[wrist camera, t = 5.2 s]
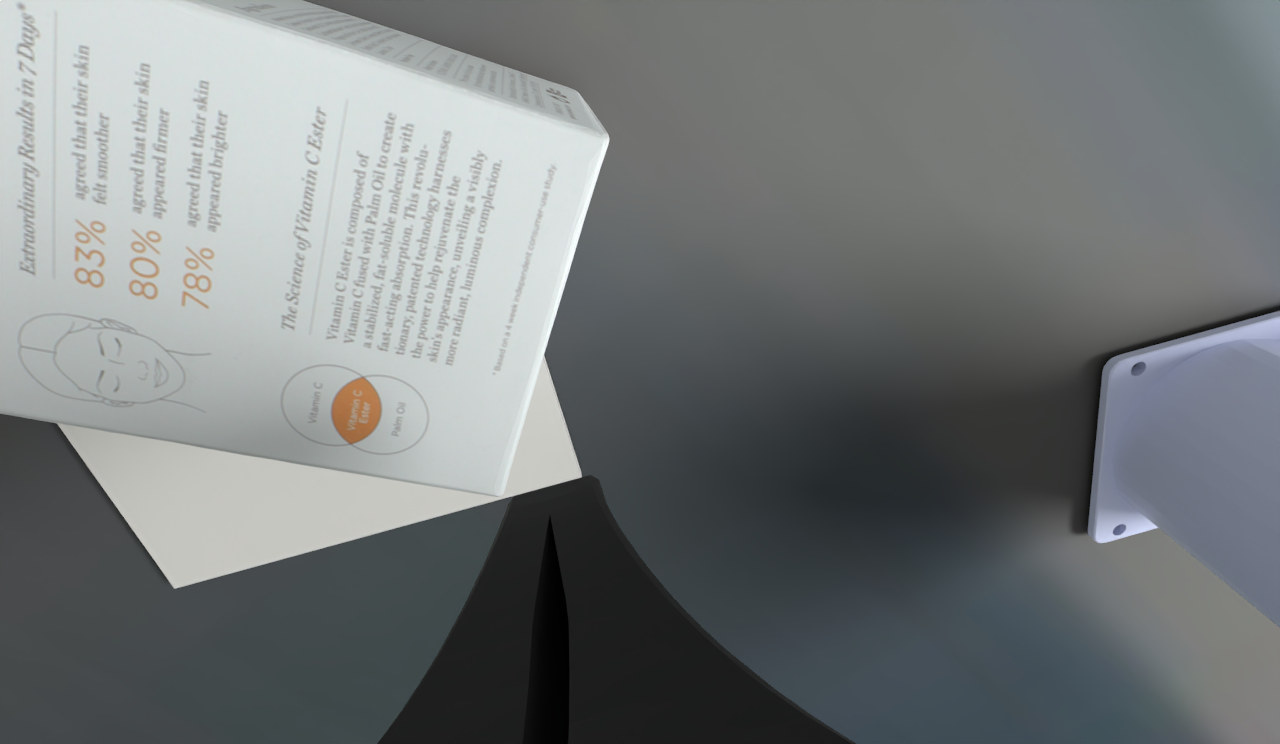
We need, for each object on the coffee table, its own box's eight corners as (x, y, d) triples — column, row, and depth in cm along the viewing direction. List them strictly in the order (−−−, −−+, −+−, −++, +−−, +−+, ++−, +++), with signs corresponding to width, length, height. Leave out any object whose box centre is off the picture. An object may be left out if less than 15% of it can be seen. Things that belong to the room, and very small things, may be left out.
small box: (586, 90, 18) (-45, -123, 15) (619, 134, 13) (-386, -191, 9) (505, 374, 21) (-30, 256, 18) (503, 509, 16) (-275, 379, 12)
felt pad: (455, 78, 18) (454, 79, 18) (581, 471, 24) (581, 476, 23) (-81, 214, 17) (-90, 218, 17) (178, 582, 23) (174, 588, 23)
